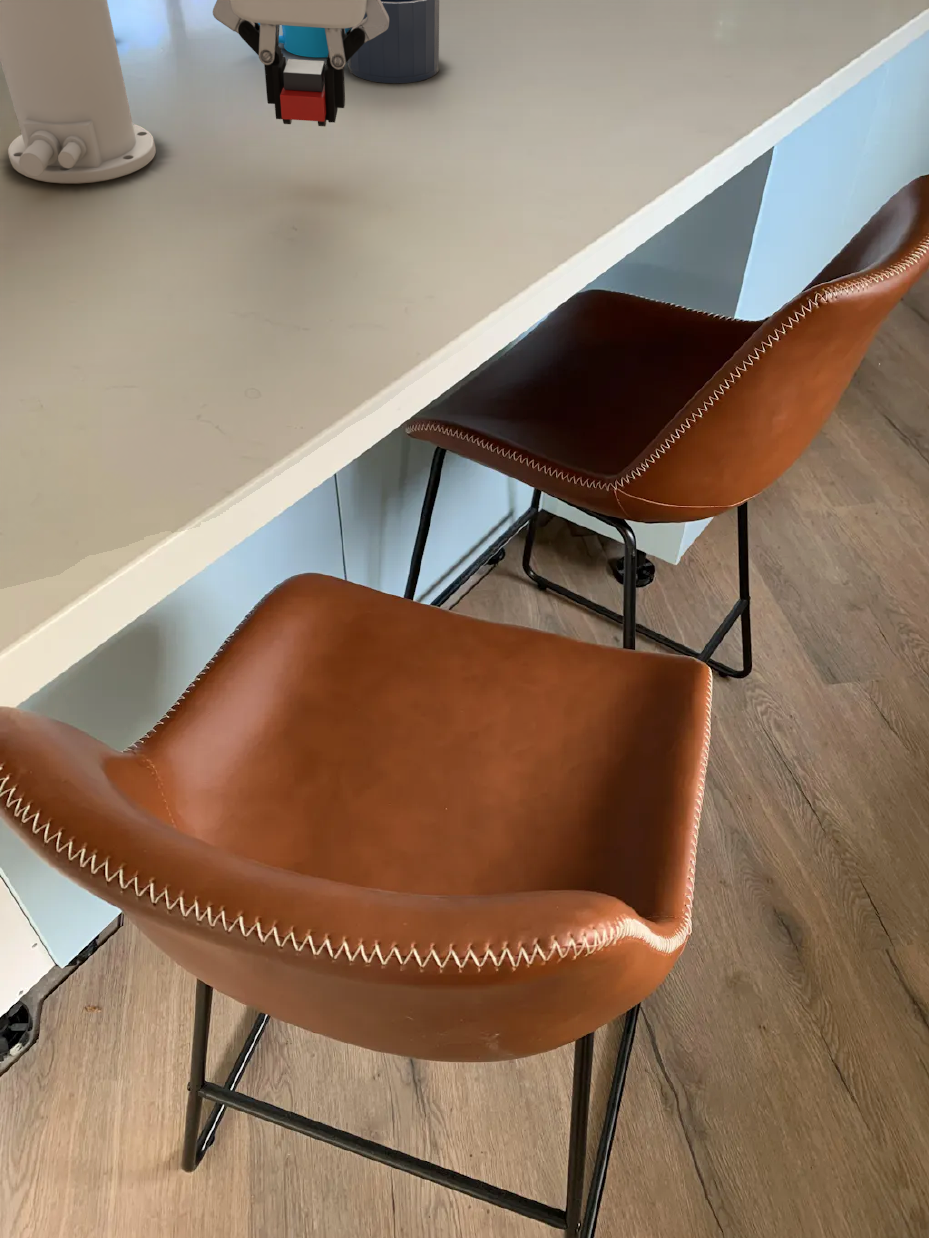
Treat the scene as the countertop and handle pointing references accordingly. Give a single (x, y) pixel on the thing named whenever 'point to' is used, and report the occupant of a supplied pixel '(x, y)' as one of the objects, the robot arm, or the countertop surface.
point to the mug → (305, 40)
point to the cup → (401, 45)
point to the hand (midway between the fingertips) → (307, 112)
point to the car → (303, 92)
